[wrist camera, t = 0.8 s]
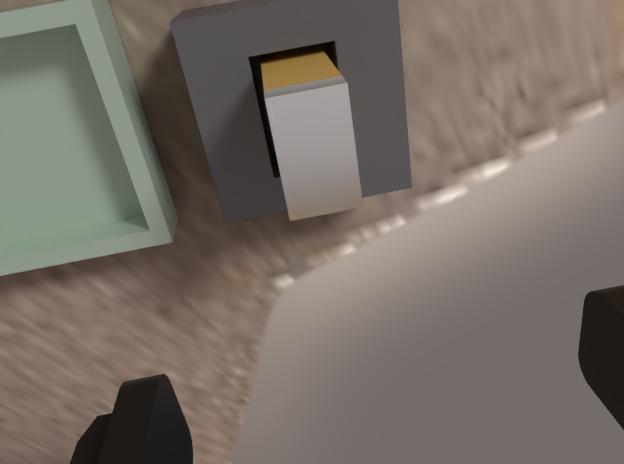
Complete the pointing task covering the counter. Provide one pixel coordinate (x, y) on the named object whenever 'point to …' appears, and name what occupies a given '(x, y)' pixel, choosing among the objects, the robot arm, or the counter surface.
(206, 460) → the counter surface
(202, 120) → the block
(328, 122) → the block
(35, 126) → the parts tray
